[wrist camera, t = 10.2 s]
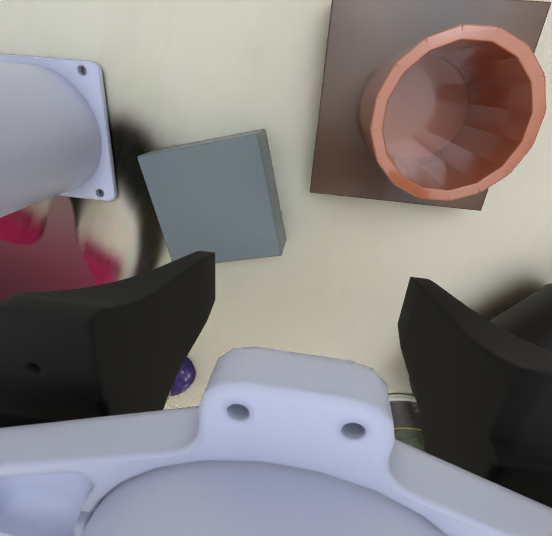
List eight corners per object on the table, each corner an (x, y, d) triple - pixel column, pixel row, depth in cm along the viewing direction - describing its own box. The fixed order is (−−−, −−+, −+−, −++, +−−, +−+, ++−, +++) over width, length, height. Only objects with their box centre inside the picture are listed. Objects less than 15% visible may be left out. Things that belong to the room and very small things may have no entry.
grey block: (187, 252, 26) (174, 268, 23) (155, 149, 23) (136, 156, 20) (286, 240, 24) (281, 255, 22) (265, 128, 21) (257, 133, 19)
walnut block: (311, 181, 22) (309, 192, 20) (333, 0, 18) (333, -12, 16) (465, 198, 21) (481, 211, 19) (523, 12, 17) (552, 1, 15)
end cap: (530, 260, 22) (602, 324, 16) (593, 331, 24) (681, 413, 18) (398, 347, 27) (417, 423, 21) (459, 403, 28) (494, 489, 22)
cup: (350, 159, 19) (359, 192, 13) (369, 42, 17) (389, 19, 11) (454, 170, 18) (510, 208, 13) (488, 50, 16) (576, 31, 10)
